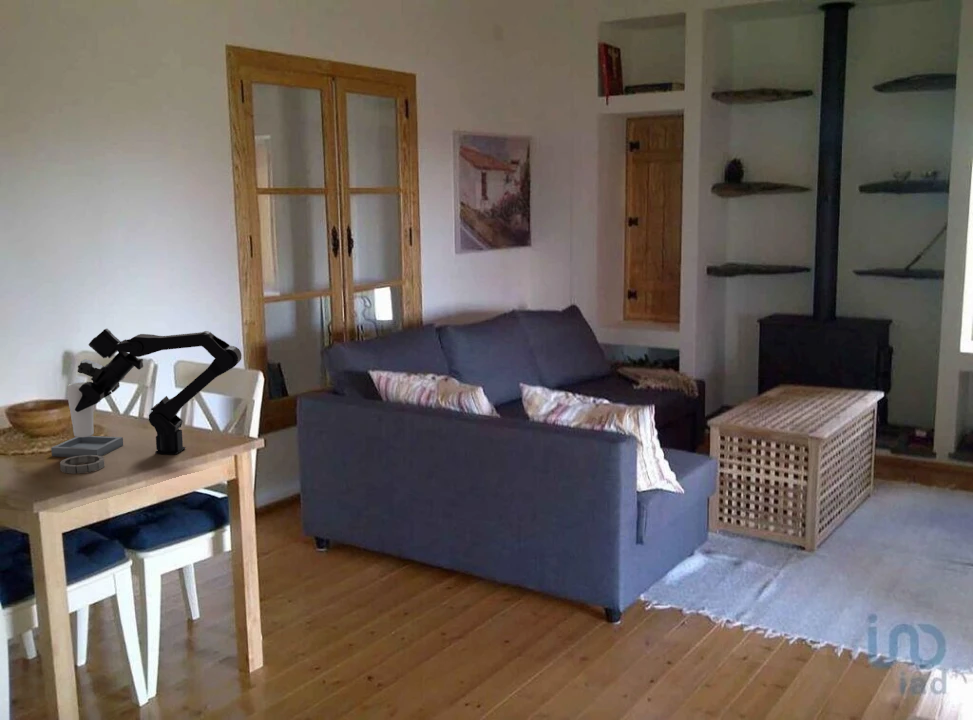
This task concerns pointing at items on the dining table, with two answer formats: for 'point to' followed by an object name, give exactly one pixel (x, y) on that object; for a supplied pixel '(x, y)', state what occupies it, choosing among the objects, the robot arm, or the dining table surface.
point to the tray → (87, 446)
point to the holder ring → (71, 467)
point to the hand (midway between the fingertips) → (80, 408)
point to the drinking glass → (80, 412)
